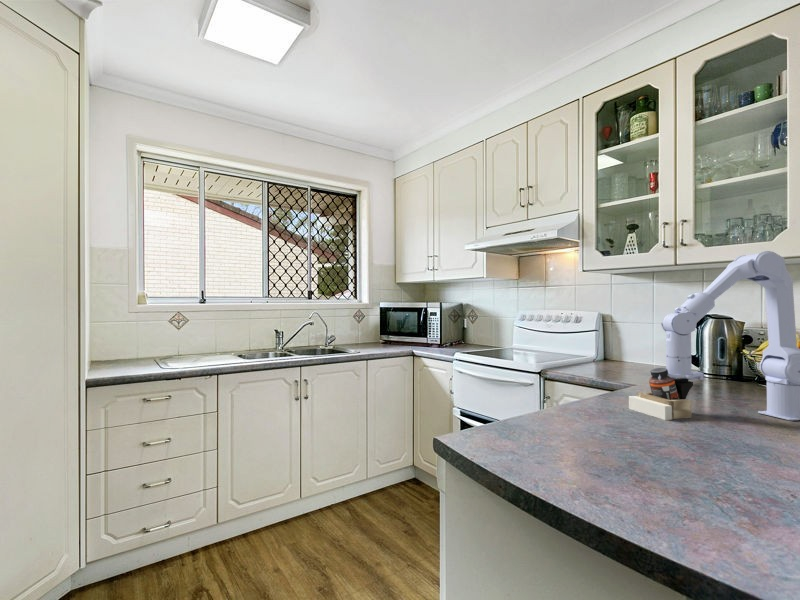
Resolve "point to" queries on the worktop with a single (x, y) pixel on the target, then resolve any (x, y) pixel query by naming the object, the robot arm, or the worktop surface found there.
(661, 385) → the supplement bottle
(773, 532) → the worktop surface
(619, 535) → the worktop surface
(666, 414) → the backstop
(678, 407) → the cradle
